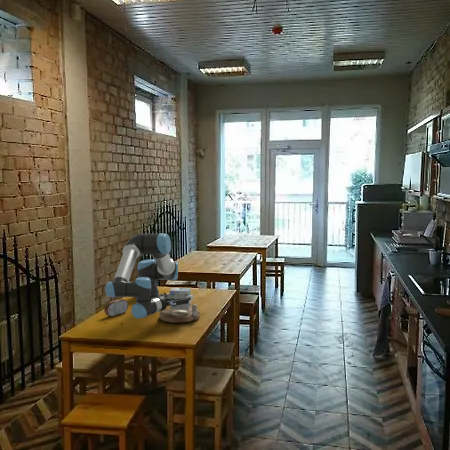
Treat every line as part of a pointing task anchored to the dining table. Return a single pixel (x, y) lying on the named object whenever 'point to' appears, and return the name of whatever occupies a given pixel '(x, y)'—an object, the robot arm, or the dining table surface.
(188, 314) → the brown wide round piece
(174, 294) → the light bulb box
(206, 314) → the dining table surface
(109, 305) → the tin
